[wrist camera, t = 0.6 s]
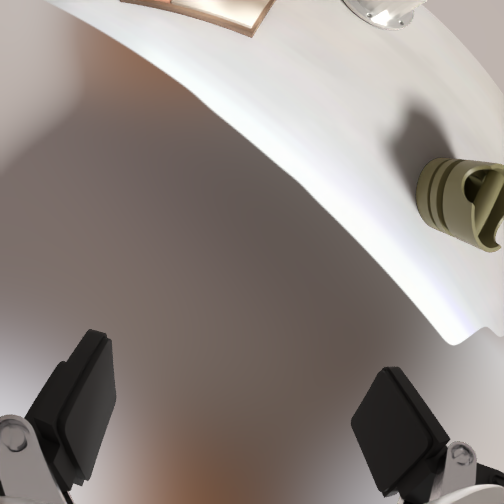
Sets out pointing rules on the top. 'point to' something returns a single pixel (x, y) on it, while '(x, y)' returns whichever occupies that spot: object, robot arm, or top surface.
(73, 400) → the robot arm
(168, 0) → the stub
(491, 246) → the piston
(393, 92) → the top surface
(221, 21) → the board
